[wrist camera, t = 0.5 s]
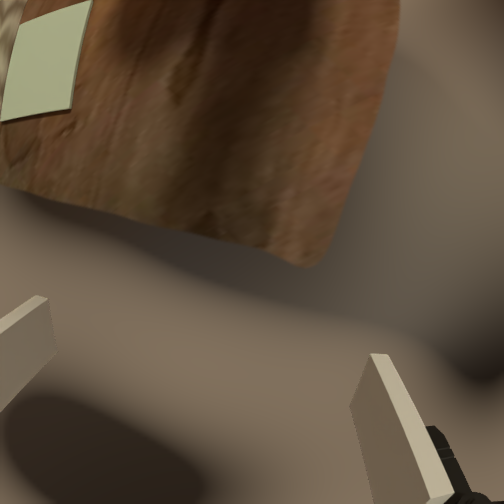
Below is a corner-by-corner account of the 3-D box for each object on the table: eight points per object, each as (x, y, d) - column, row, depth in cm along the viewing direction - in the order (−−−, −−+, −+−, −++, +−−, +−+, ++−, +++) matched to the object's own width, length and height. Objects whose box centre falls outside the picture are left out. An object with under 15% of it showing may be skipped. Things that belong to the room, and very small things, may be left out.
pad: (21, 25, 30) (19, 25, 30) (93, 1, 30) (91, -1, 29) (2, 121, 35) (0, 121, 35) (71, 108, 35) (69, 108, 34)
